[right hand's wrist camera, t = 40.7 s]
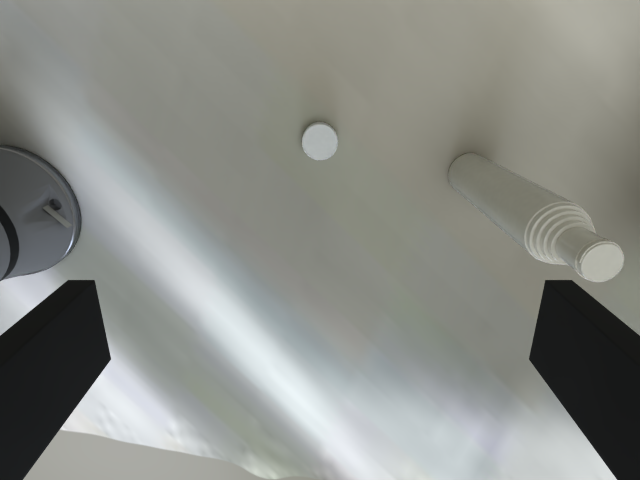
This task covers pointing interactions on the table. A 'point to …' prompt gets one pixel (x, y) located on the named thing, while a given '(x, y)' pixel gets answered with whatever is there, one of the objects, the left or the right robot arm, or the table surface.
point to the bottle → (536, 218)
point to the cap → (319, 141)
